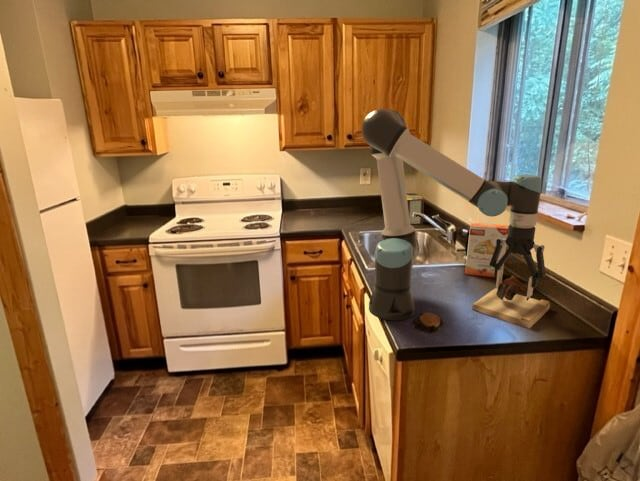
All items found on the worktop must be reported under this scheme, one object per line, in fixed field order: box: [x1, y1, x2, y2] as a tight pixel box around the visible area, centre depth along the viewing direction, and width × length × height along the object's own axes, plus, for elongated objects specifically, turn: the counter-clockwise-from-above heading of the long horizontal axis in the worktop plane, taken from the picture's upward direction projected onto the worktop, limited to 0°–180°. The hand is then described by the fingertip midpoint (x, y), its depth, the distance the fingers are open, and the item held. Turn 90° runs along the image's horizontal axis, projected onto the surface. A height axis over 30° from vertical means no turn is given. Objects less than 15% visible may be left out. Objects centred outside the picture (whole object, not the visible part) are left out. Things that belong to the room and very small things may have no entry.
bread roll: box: [412, 312, 444, 335], centre depth 121 cm, size 11×8×4 cm
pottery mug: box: [496, 275, 530, 301], centre depth 128 cm, size 12×10×8 cm
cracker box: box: [464, 222, 509, 278], centre depth 157 cm, size 14×6×21 cm, turn 70°
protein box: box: [407, 194, 425, 225], centre depth 244 cm, size 10×15×16 cm
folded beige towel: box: [471, 287, 551, 329], centre depth 130 cm, size 18×18×3 cm
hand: (513, 291), depth 128 cm, fingers closed on pottery mug, 9 cm apart
